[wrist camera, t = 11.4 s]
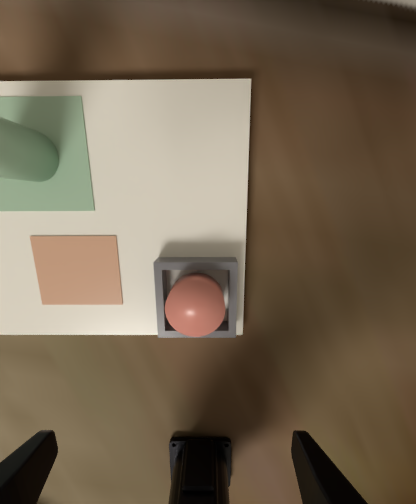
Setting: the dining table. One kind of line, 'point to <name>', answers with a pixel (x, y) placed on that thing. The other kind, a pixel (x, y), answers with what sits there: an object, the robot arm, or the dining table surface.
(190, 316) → the button
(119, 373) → the dining table surface
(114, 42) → the dining table surface
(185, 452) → the robot arm
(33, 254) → the white flat board
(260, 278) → the dining table surface
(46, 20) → the dining table surface
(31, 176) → the marker
